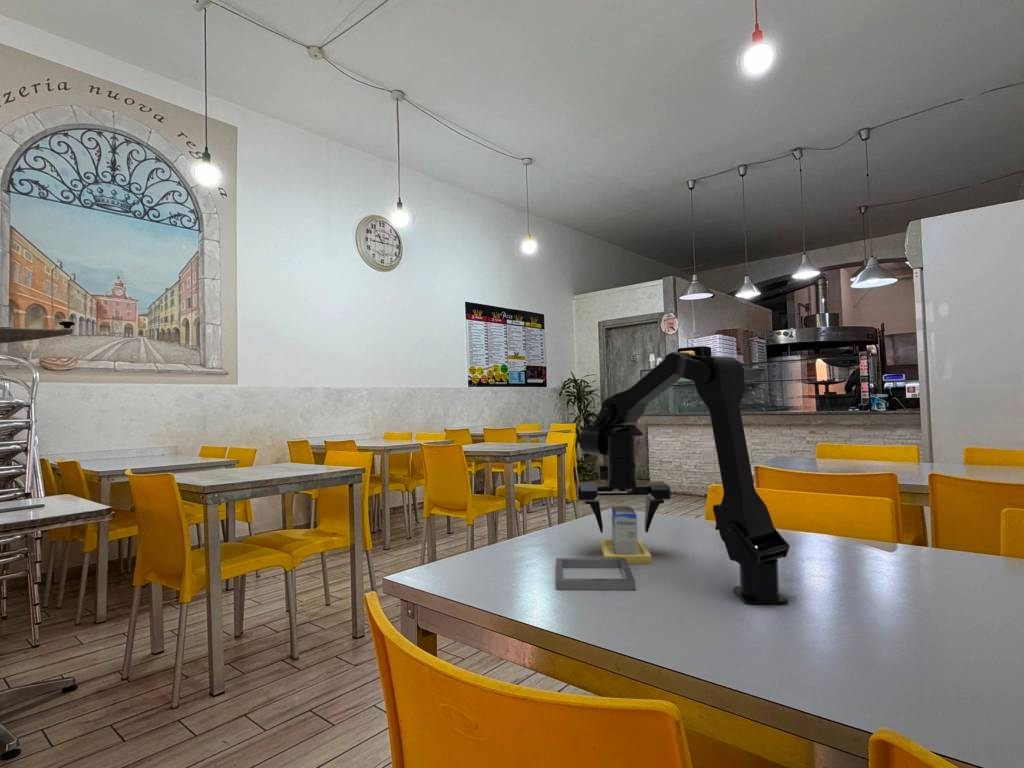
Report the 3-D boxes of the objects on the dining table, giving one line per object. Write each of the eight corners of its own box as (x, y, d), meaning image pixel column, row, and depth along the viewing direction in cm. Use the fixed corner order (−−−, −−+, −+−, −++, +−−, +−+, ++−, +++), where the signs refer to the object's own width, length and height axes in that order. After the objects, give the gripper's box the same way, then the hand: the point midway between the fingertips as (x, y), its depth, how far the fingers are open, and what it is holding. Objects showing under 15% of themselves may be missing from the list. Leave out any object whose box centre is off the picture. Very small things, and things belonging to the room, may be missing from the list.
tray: (651, 563, 107) (651, 556, 107) (605, 563, 108) (605, 556, 108) (641, 546, 120) (641, 539, 120) (600, 546, 121) (599, 539, 121)
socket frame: (635, 589, 93) (635, 581, 93) (556, 589, 94) (556, 580, 94) (625, 565, 106) (625, 558, 106) (556, 565, 107) (556, 558, 107)
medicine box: (612, 546, 118) (610, 506, 118) (633, 546, 118) (631, 505, 118) (616, 556, 110) (614, 513, 111) (638, 556, 110) (637, 513, 110)
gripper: (659, 452, 122) (661, 523, 121) (575, 454, 123) (577, 523, 123) (669, 458, 111) (672, 535, 110) (577, 459, 112) (579, 536, 112)
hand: (623, 532), depth 114 cm, fingers open, 9 cm apart
